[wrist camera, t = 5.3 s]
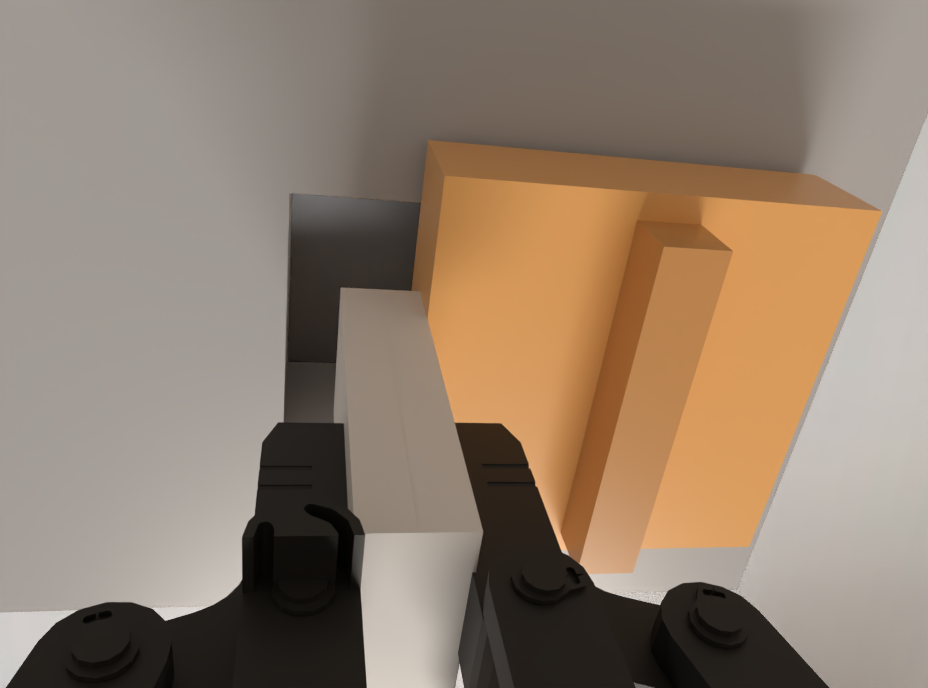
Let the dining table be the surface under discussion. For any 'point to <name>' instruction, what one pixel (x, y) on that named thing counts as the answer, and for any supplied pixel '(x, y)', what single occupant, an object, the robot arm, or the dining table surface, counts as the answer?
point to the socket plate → (341, 175)
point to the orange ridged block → (635, 329)
